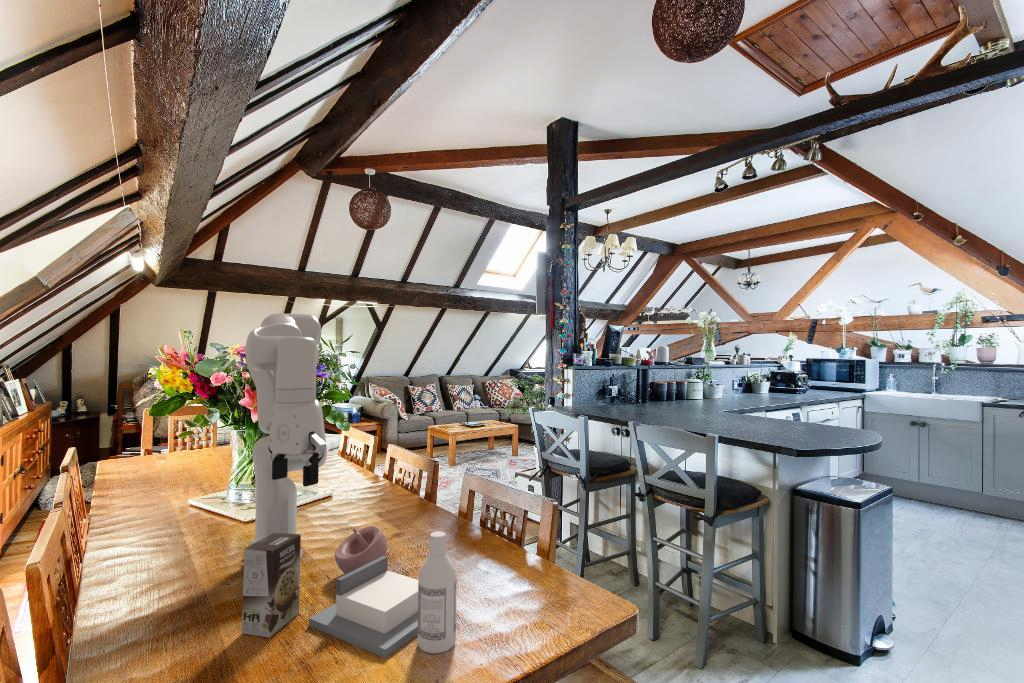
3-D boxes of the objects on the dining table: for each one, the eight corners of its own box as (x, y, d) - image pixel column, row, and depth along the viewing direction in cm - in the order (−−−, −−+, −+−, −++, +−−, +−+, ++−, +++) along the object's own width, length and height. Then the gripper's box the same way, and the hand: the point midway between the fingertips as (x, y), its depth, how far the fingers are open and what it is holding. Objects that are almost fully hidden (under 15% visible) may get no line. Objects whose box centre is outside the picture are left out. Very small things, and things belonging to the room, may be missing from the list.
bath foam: (438, 628, 96) (439, 524, 97) (463, 642, 92) (464, 533, 92) (409, 644, 91) (411, 534, 91) (434, 660, 86) (436, 544, 87)
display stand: (308, 626, 97) (309, 581, 97) (382, 584, 114) (383, 547, 114) (385, 658, 87) (386, 609, 87) (453, 607, 104) (454, 566, 104)
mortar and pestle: (327, 572, 120) (328, 524, 120) (375, 559, 127) (375, 514, 128) (344, 591, 111) (345, 539, 111) (395, 577, 118) (395, 528, 118)
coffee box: (270, 638, 92) (272, 551, 93) (240, 634, 94) (242, 548, 94) (301, 613, 101) (302, 533, 102) (273, 609, 103) (274, 530, 103)
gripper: (253, 396, 103) (251, 480, 102) (308, 400, 94) (306, 492, 93) (285, 394, 109) (284, 472, 109) (340, 397, 100) (339, 483, 100)
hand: (294, 481), depth 101 cm, fingers open, 9 cm apart
